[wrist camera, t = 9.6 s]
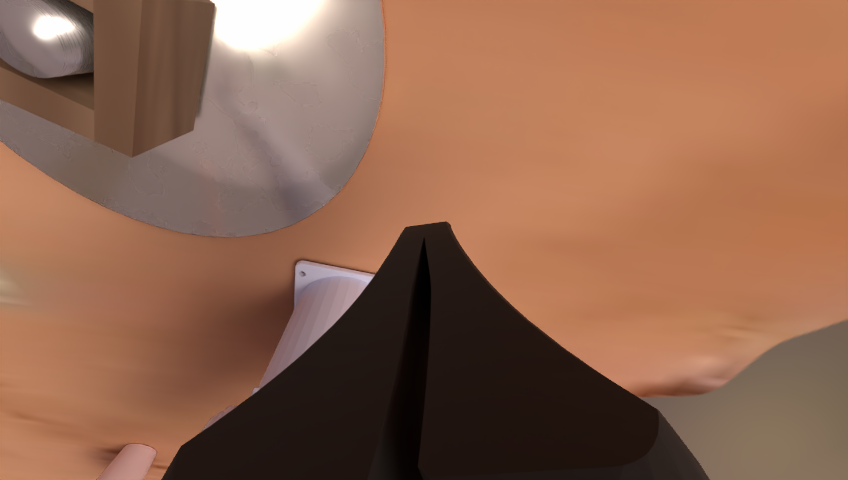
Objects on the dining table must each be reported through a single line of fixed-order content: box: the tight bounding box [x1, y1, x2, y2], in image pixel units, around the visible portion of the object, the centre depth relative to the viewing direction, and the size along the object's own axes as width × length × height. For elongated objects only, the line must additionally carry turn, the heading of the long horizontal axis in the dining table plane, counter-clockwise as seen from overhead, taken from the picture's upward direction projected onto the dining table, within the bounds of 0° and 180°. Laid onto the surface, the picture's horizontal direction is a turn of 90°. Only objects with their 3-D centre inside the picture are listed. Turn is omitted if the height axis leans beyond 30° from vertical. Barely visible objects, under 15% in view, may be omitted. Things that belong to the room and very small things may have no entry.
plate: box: [0, 0, 386, 237], centre depth 14 cm, size 22×22×1 cm
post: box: [0, 0, 94, 78], centre depth 12 cm, size 2×2×6 cm
